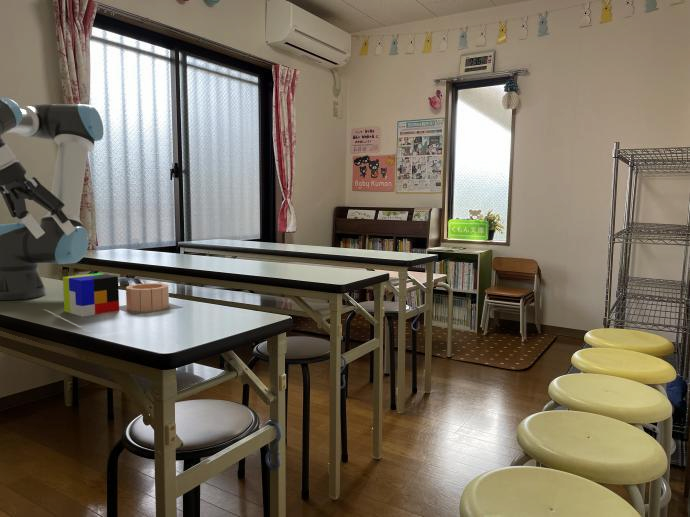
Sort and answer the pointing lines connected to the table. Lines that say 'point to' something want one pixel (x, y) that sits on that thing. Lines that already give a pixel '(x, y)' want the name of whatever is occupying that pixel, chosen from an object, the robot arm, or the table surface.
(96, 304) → the puzzle toy
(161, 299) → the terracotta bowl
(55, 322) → the table surface
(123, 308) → the rubber mat
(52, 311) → the table surface
